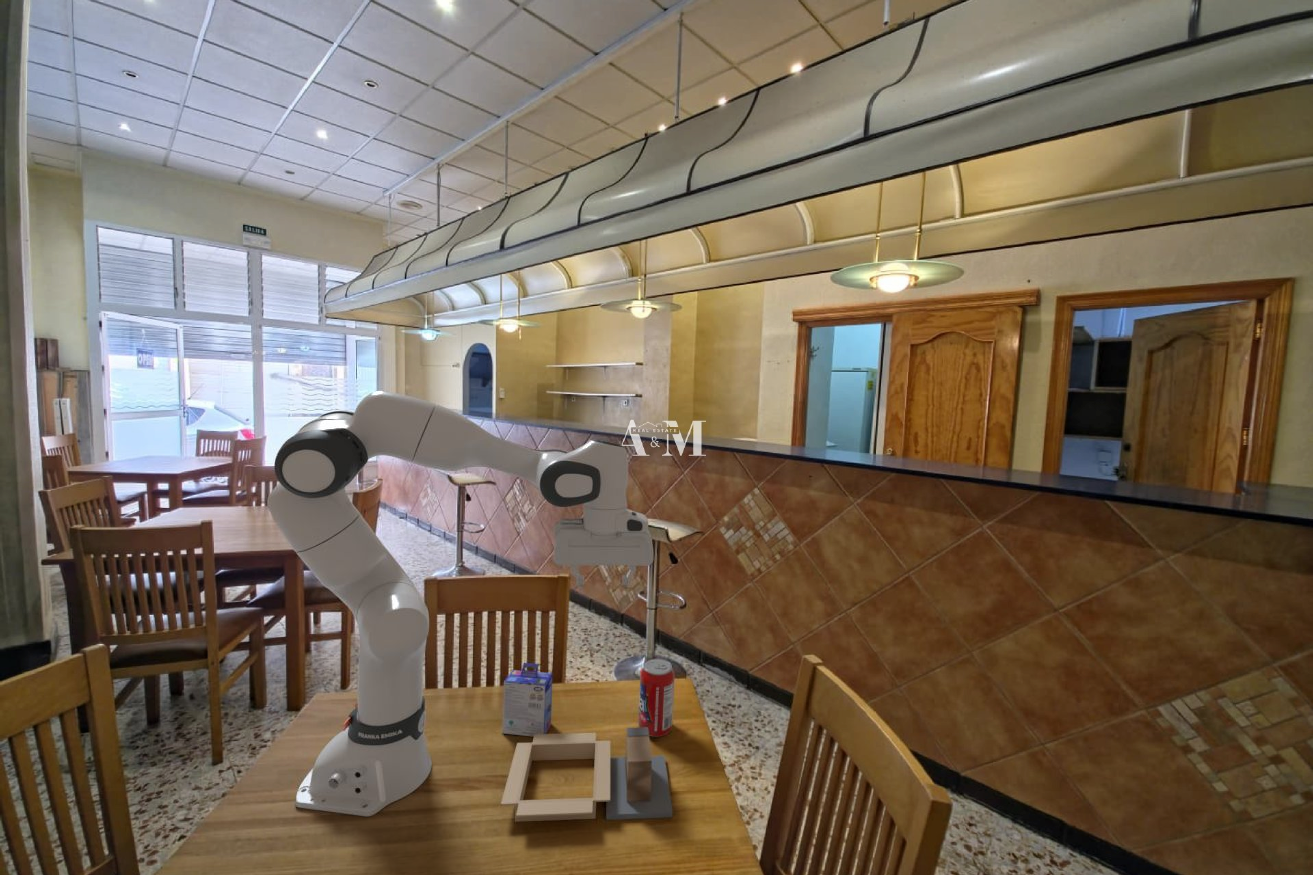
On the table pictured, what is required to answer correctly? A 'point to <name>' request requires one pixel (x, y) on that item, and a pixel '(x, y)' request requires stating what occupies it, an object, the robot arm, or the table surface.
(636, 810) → the mat
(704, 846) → the table surface
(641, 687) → the soda can
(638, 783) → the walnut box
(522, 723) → the ink cartridge box
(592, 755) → the beige hollow square frame
